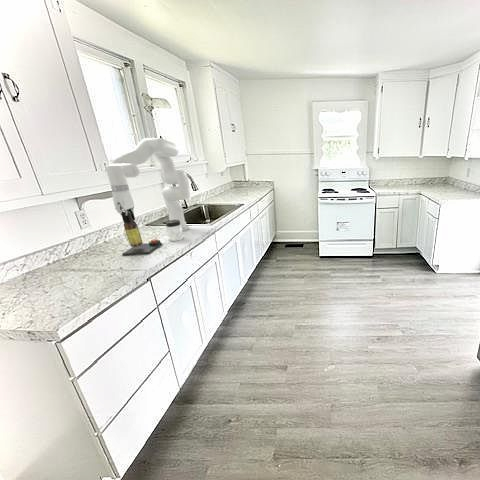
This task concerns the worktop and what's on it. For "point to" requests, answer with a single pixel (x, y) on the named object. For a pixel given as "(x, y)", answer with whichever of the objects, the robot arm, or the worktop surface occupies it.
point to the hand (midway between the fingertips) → (129, 221)
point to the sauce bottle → (133, 232)
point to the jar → (174, 230)
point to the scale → (143, 249)
